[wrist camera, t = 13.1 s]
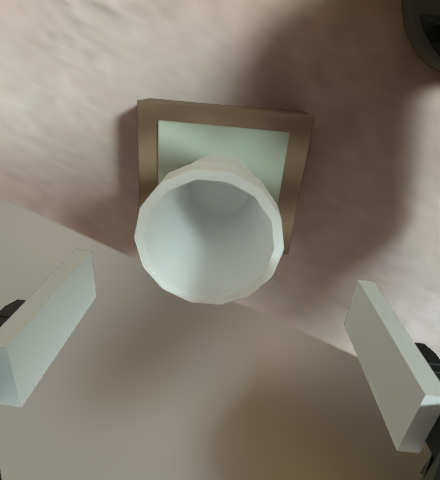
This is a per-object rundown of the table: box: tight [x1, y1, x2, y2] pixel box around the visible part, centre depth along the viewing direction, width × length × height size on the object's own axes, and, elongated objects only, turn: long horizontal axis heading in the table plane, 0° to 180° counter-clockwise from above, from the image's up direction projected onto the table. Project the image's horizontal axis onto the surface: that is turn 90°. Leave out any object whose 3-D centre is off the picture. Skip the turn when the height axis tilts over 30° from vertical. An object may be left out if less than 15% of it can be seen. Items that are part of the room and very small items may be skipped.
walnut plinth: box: [137, 98, 314, 254], centre depth 35 cm, size 14×16×5 cm
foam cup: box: [134, 153, 284, 305], centre depth 27 cm, size 10×9×13 cm
